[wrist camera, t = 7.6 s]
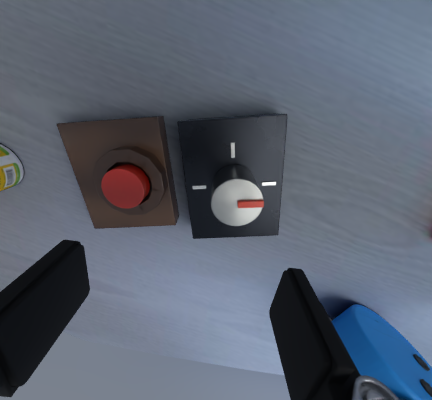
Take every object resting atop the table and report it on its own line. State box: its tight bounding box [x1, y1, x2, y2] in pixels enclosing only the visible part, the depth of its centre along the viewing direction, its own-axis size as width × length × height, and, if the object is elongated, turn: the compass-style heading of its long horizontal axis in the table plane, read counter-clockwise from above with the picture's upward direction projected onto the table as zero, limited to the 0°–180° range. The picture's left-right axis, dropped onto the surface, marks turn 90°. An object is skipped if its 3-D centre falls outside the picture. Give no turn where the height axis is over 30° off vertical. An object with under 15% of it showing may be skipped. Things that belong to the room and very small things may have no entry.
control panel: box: [178, 114, 287, 239], centre depth 22 cm, size 13×10×3 cm
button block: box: [57, 116, 179, 229], centre depth 22 cm, size 12×10×4 cm
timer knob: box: [211, 165, 264, 226], centre depth 19 cm, size 4×4×5 cm
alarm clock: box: [328, 304, 432, 400], centre depth 26 cm, size 13×6×15 cm, turn 59°
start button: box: [101, 164, 150, 208], centre depth 19 cm, size 4×4×2 cm
